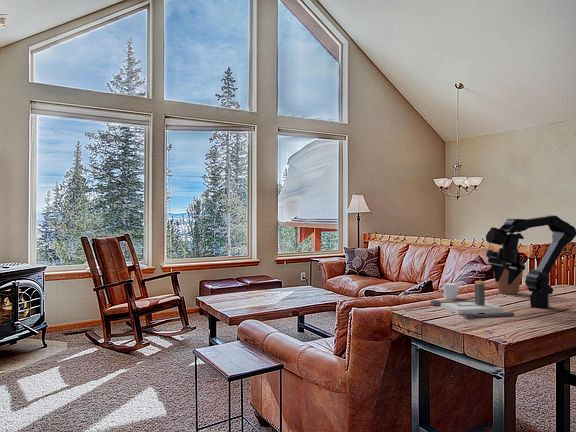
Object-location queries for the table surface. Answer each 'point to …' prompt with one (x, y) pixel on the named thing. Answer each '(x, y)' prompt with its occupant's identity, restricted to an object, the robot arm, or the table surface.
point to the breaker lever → (480, 292)
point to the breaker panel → (471, 307)
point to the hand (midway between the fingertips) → (503, 283)
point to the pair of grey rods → (471, 315)
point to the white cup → (450, 290)
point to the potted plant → (503, 282)
